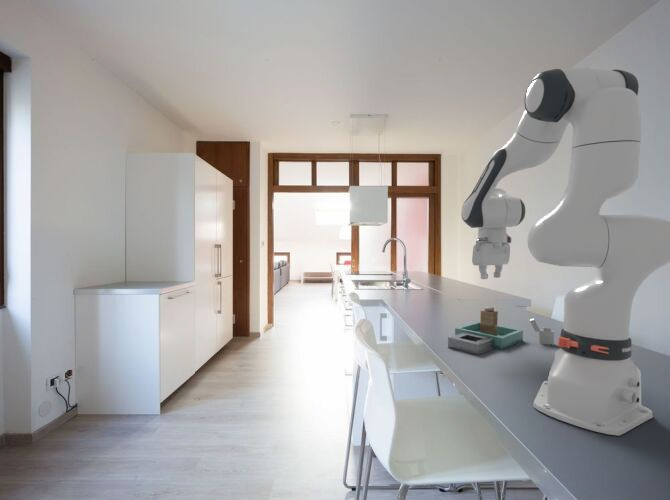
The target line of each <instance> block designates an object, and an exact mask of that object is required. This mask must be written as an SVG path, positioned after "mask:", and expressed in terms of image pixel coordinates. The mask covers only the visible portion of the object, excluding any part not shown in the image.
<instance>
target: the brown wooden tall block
mask: <svg viewBox="0 0 670 500" xmlns="http://www.w3.org/2000/svg"><path fill="white" fill-rule="evenodd" d="M498 312H499V311H498V310H495V307H493V306H484V309H482V310H480V333H485V334H489V335H494V336H497V326H498V320H499V319H498V318H499V317H498V316H499V315H498V314H499V313H498Z"/></svg>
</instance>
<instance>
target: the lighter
mask: <svg viewBox="0 0 670 500" xmlns="http://www.w3.org/2000/svg"><path fill="white" fill-rule="evenodd" d="M528 320H529V322H530V324H531V326H532V328H533V330H534V332H535V333H537V332H538V343H539V344H540V343H541V345H550V344H552V345H551V346H554V345H555V331H554V330H552V328H550V327H544V326H543V327H542V329H540V328H539V326H538V324H537V322H536V320H535V318H534V317H533V318H530V319H528Z"/></svg>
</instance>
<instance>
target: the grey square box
mask: <svg viewBox="0 0 670 500" xmlns="http://www.w3.org/2000/svg"><path fill="white" fill-rule="evenodd" d="M447 347H448V348H451V349H456V350H459V351H462V352H466V353H470V354H474V355H478V356H479V355H481V354H484V353H486V352H490V351H491V350H493V349H495V348H494V339H492V338H488V337H483V336H479V335H474V334H470V333H465V332H464V333H461V334H457V335H455V334H454V335H451V336H449V337H448V336H447Z"/></svg>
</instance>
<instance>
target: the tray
mask: <svg viewBox="0 0 670 500" xmlns="http://www.w3.org/2000/svg"><path fill="white" fill-rule="evenodd" d="M464 332H465V333H470V334H474V335H479V336H483V337H488V338H492V339H494V349H499V350H504V349H506V348H509V347H511V346H513V345H516V344H518V343H521V342H522V341H523V340H524V330H523V329H518V328H512V327H506V326H501V325H497V336H494V335H489V334H485V333H480V322H479V321H476V322H472V323H469V324H465V325H462V326H458V327H455V328H454V335H457V334H461V333H464Z"/></svg>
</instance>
